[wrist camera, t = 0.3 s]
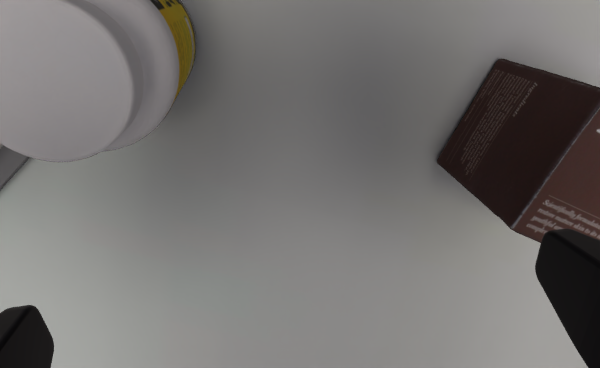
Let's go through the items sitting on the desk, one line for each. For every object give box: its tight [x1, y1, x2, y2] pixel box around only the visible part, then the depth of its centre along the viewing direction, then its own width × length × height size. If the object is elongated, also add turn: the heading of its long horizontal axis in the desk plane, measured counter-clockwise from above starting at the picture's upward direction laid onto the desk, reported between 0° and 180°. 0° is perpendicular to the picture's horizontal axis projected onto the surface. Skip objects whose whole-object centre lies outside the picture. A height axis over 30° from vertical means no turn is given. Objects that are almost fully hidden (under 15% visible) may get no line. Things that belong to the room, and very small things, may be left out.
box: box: [437, 59, 600, 243], centre depth 20 cm, size 6×6×7 cm
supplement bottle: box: [0, 0, 196, 162], centre depth 15 cm, size 5×5×10 cm
